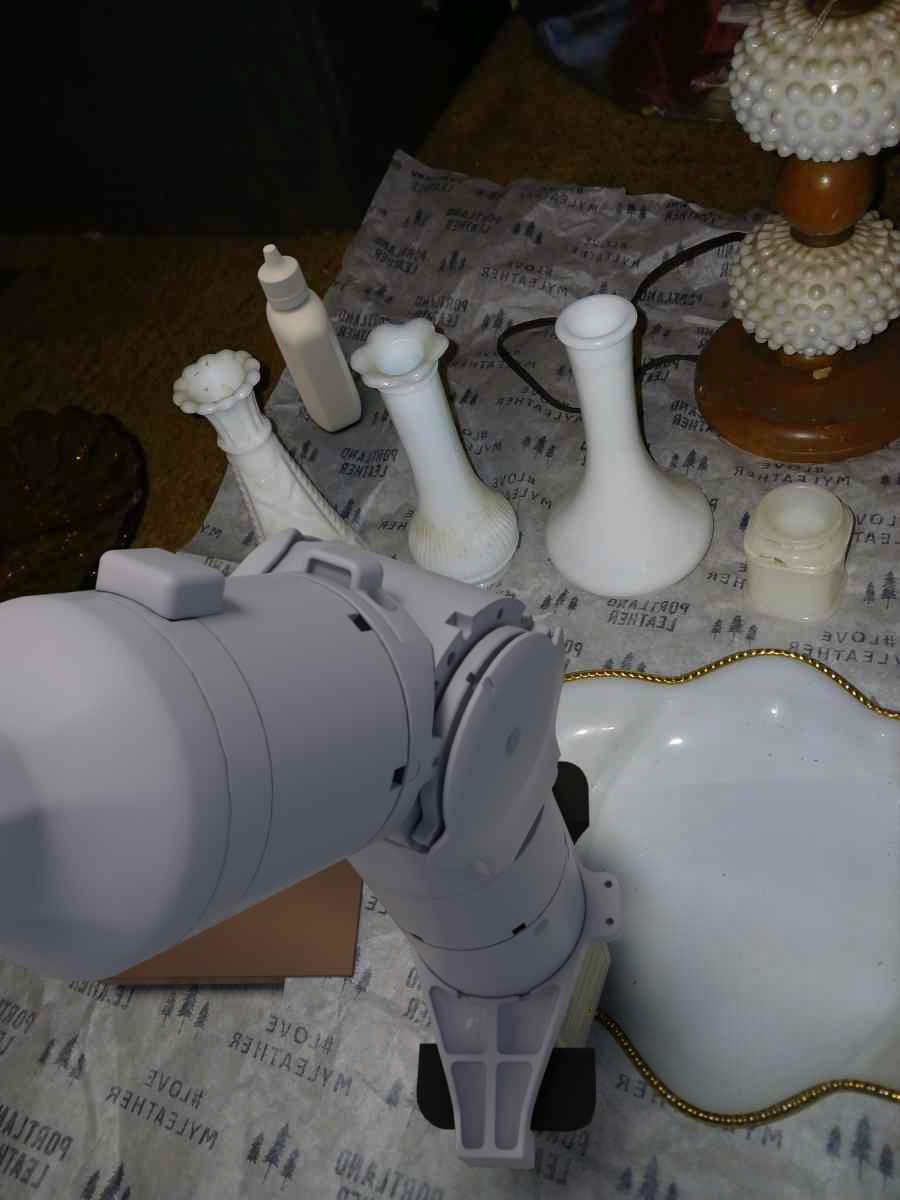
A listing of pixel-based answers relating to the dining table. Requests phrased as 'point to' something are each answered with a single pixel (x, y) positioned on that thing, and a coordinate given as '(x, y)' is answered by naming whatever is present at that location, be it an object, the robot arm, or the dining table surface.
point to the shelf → (269, 938)
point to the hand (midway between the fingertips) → (539, 989)
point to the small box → (584, 998)
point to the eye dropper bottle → (308, 343)
